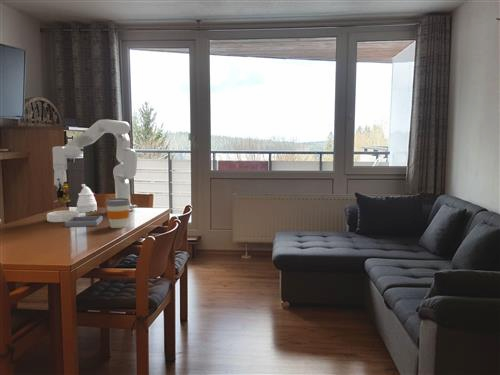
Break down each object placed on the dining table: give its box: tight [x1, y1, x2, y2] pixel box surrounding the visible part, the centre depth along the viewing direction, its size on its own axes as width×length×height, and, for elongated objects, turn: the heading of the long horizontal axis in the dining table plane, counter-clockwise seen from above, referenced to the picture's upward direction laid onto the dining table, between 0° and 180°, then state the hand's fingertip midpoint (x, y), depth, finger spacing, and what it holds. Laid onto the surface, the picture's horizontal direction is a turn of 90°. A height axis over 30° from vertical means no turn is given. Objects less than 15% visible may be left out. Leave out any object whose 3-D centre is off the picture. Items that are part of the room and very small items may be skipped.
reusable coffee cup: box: [105, 197, 131, 229], centre depth 231 cm, size 13×13×15 cm
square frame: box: [64, 215, 104, 228], centre depth 241 cm, size 17×17×2 cm
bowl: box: [46, 210, 80, 223], centre depth 254 cm, size 17×17×4 cm
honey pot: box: [76, 183, 98, 213], centre depth 286 cm, size 13×13×18 cm
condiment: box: [54, 181, 71, 203], centre depth 252 cm, size 7×8×12 cm
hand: (61, 196), depth 252 cm, fingers closed on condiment, 6 cm apart
